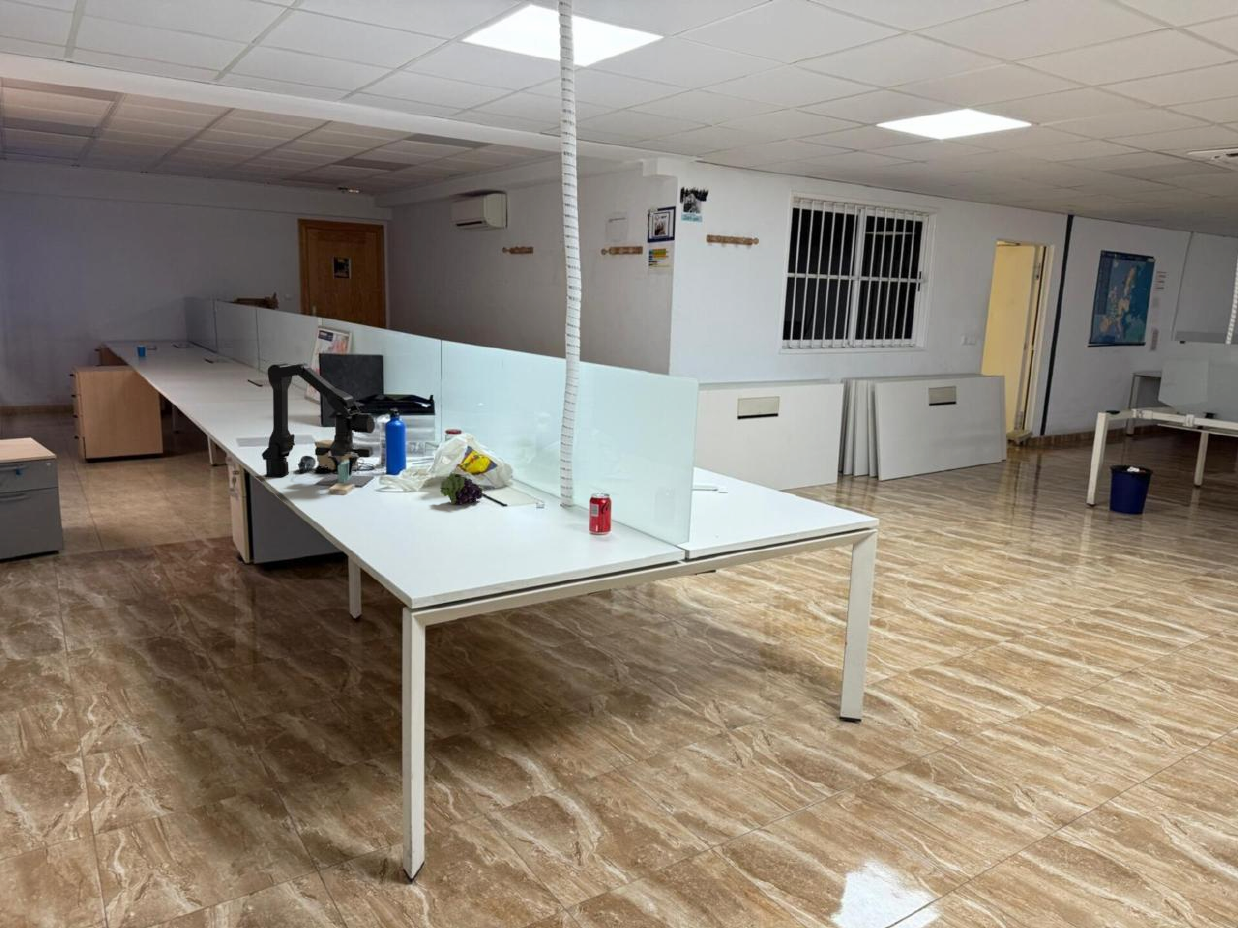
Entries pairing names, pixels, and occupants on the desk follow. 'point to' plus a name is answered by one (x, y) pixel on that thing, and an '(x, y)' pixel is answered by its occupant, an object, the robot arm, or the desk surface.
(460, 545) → the desk surface
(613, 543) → the desk surface
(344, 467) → the teal slab
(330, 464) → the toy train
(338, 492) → the birch slab
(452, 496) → the fruit
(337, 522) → the desk surface
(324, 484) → the mat
